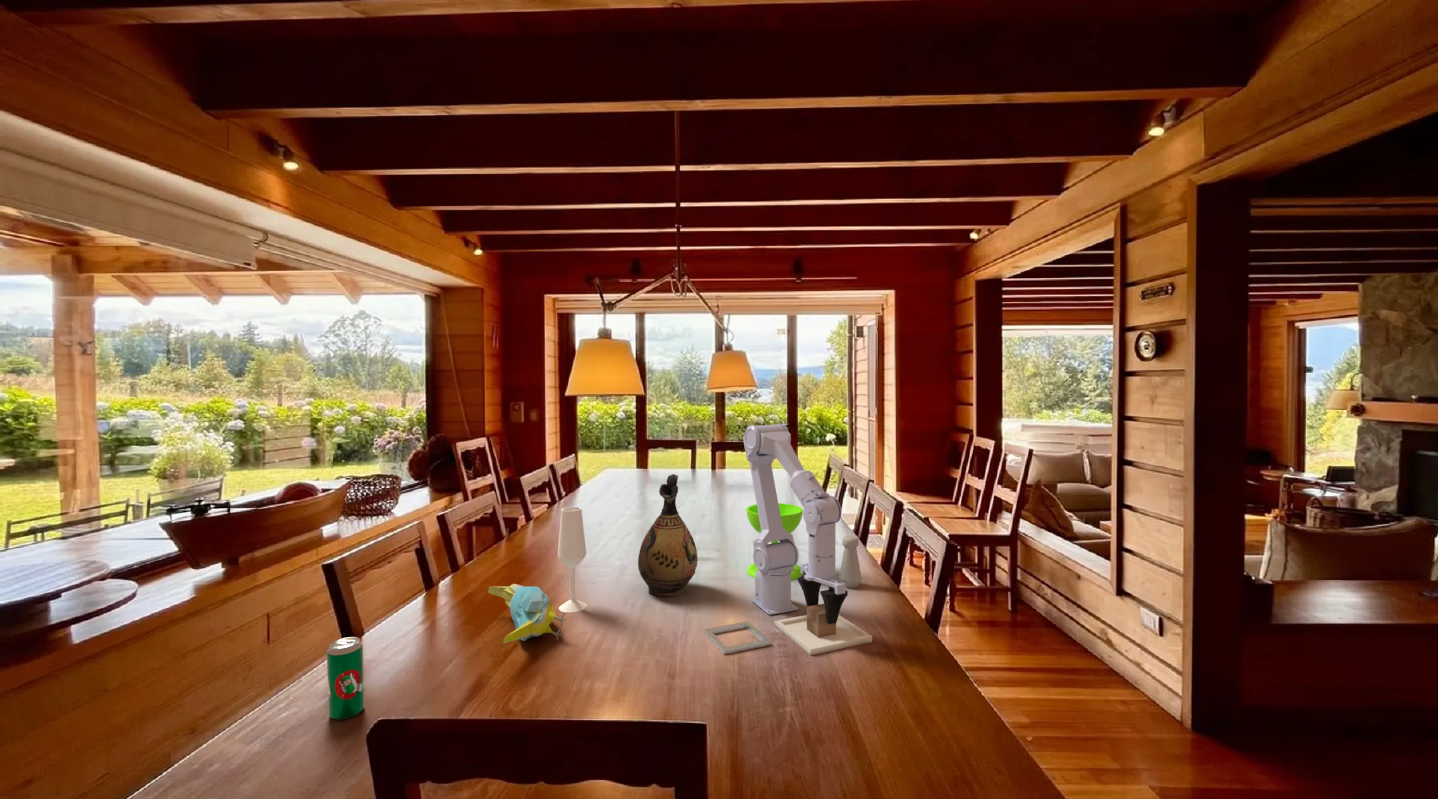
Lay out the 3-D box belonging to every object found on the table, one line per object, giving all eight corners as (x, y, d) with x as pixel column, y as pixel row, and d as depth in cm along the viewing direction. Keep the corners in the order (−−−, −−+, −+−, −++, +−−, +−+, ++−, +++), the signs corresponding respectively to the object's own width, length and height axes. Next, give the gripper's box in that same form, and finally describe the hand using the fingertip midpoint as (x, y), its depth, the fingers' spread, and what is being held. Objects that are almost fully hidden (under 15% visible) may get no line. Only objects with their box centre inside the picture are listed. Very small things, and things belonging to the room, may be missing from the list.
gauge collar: (704, 633, 128) (704, 629, 128) (748, 625, 132) (748, 621, 132) (723, 654, 119) (723, 649, 118) (770, 645, 123) (770, 640, 123)
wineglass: (740, 578, 163) (739, 513, 162) (753, 560, 178) (753, 501, 178) (798, 584, 159) (797, 517, 158) (806, 565, 174) (806, 504, 173)
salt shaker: (861, 590, 154) (861, 540, 153) (839, 588, 155) (839, 539, 154) (861, 582, 159) (861, 534, 159) (839, 581, 160) (839, 533, 160)
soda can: (339, 705, 101) (337, 636, 101) (370, 704, 101) (368, 635, 101) (322, 722, 96) (319, 650, 95) (354, 721, 96) (352, 648, 96)
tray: (774, 626, 132) (774, 621, 132) (831, 615, 138) (831, 610, 138) (810, 655, 118) (810, 649, 118) (872, 641, 124) (872, 636, 124)
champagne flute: (575, 599, 148) (574, 504, 147) (592, 606, 144) (591, 508, 143) (552, 607, 143) (551, 509, 142) (569, 614, 139) (568, 513, 138)
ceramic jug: (696, 601, 146) (695, 481, 145) (633, 601, 147) (632, 481, 146) (699, 578, 163) (698, 470, 162) (644, 578, 164) (642, 470, 163)
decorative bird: (549, 606, 145) (548, 568, 144) (577, 658, 117) (576, 611, 117) (489, 616, 139) (488, 577, 138) (503, 673, 111) (502, 625, 111)
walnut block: (806, 629, 129) (806, 606, 129) (824, 625, 131) (824, 603, 130) (818, 637, 125) (818, 614, 125) (836, 634, 127) (836, 610, 126)
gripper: (788, 547, 132) (788, 606, 133) (824, 566, 119) (824, 632, 119) (815, 543, 135) (815, 602, 135) (853, 561, 122) (853, 626, 122)
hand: (821, 616), depth 128 cm, fingers open, 7 cm apart
